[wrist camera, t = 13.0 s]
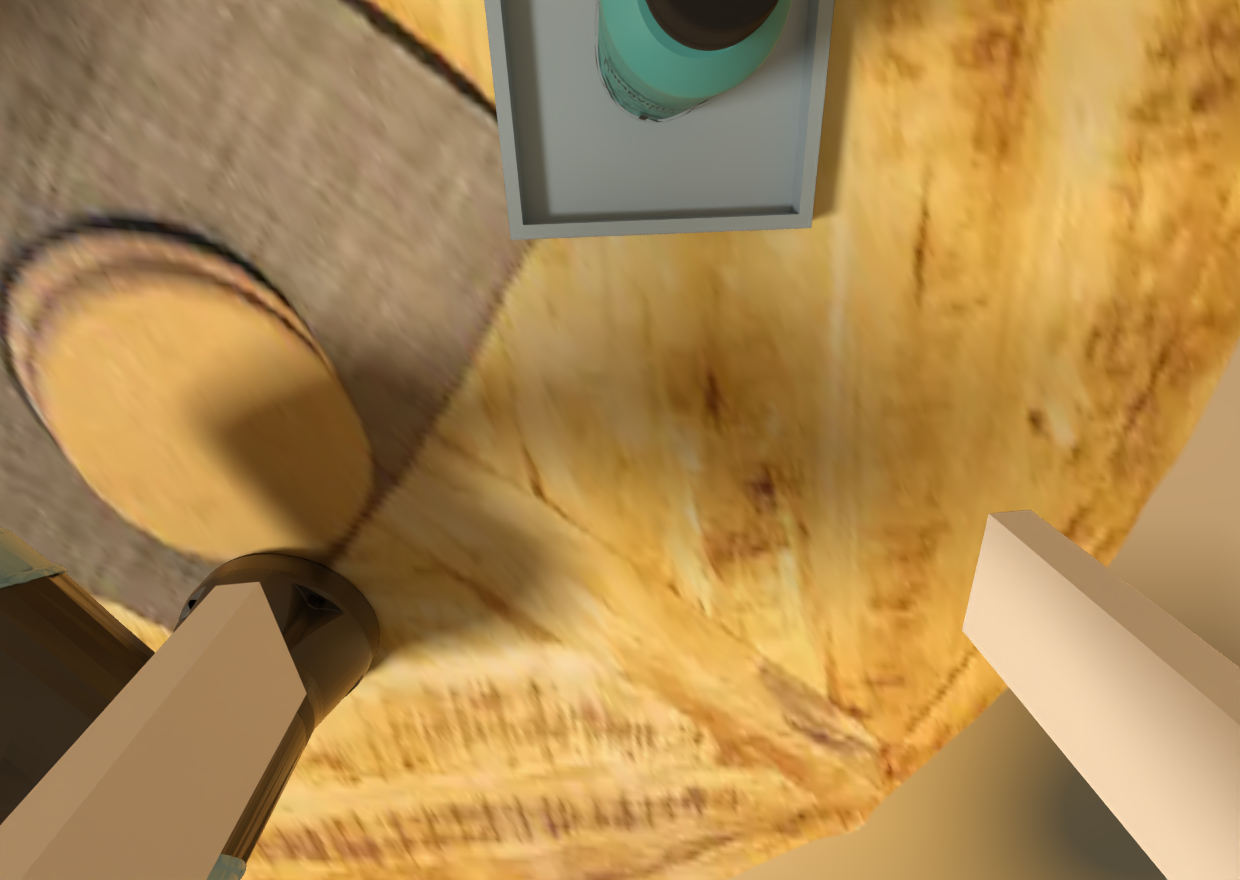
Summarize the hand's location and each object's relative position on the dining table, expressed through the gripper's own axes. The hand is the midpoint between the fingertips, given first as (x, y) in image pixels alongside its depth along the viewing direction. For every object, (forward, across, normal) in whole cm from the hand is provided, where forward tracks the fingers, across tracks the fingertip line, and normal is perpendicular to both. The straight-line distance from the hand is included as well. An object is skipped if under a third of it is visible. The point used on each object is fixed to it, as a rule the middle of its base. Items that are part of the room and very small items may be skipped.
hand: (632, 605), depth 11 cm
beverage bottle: (+30, +4, +13) cm, 33 cm away
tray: (+30, +4, +13) cm, 33 cm away
